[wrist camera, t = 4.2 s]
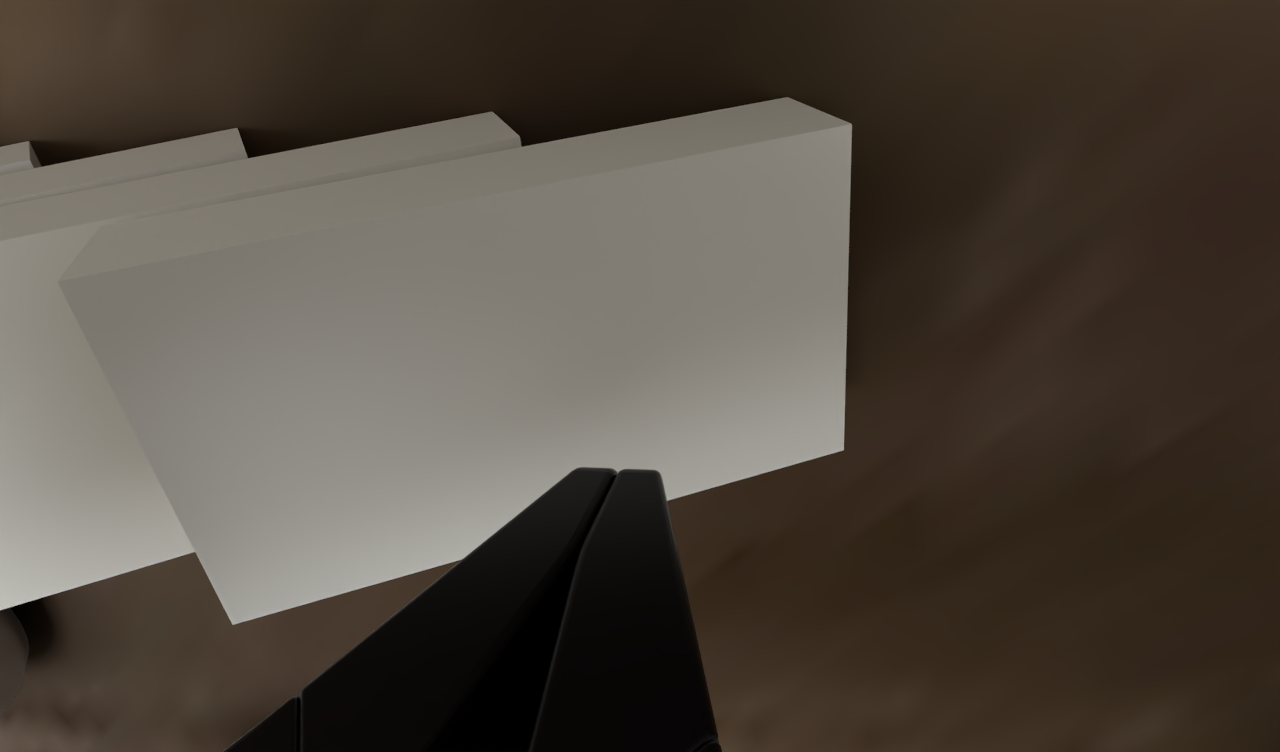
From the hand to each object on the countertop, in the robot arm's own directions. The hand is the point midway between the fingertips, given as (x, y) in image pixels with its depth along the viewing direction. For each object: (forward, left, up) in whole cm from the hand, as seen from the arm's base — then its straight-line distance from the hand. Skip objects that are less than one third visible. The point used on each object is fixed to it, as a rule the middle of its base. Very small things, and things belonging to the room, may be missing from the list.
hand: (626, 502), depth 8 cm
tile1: (-2, 0, -5) cm, 6 cm away
